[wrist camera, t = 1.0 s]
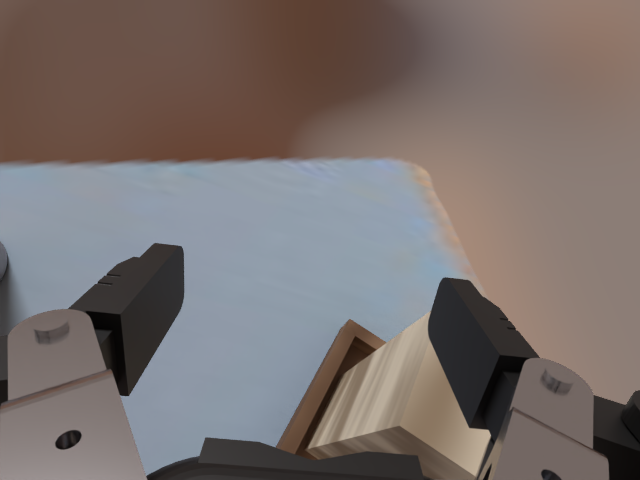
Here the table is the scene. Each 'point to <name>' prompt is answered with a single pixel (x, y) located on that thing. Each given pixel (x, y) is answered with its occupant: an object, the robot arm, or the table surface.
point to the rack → (327, 384)
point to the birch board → (401, 411)
